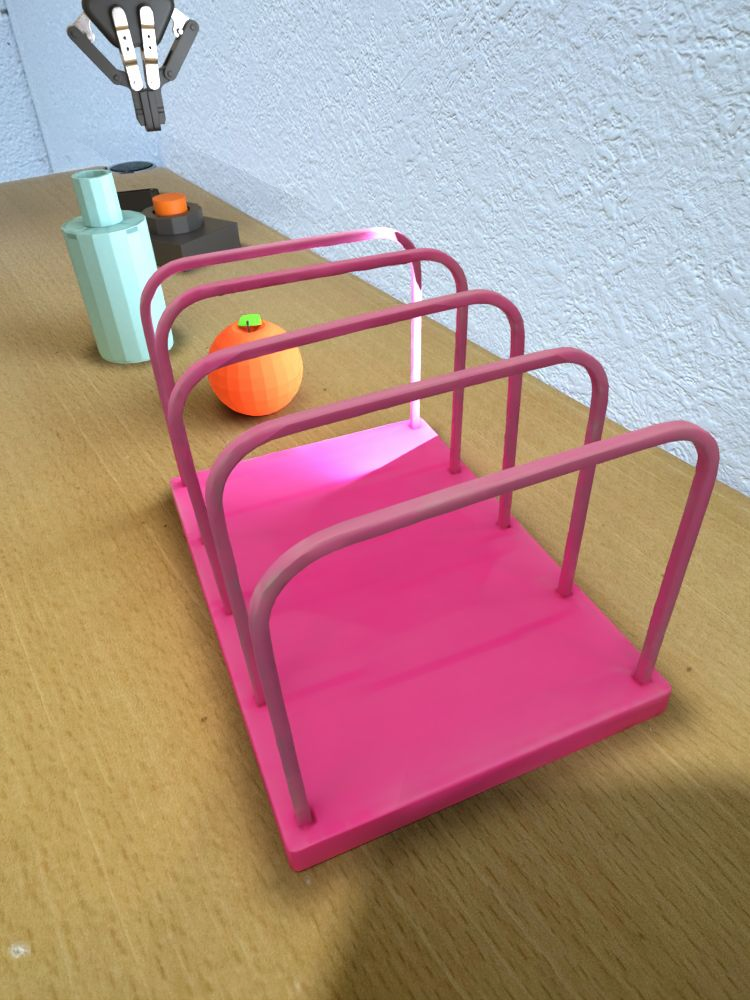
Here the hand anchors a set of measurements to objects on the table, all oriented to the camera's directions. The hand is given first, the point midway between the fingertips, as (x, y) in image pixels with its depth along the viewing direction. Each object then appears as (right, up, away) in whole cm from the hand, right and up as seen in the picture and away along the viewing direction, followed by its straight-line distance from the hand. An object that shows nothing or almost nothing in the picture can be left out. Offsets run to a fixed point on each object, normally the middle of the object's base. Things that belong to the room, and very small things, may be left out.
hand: (153, 130), depth 73 cm
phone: (-10, 0, +22) cm, 24 cm away
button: (0, -7, +5) cm, 9 cm away
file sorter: (+23, -44, -35) cm, 61 cm away
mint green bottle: (+2, -26, -11) cm, 28 cm away
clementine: (+15, -32, -20) cm, 40 cm away
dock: (+1, -10, +8) cm, 13 cm away
